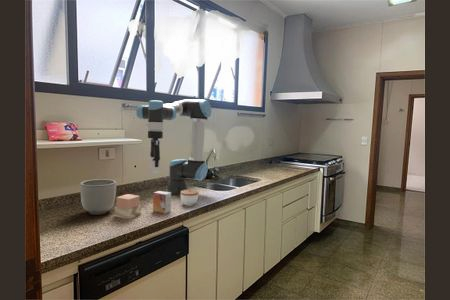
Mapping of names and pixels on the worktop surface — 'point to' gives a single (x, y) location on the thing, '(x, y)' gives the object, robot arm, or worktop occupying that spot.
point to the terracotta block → (127, 201)
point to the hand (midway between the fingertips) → (154, 171)
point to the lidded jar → (189, 197)
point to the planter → (98, 195)
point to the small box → (162, 202)
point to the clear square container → (127, 212)
